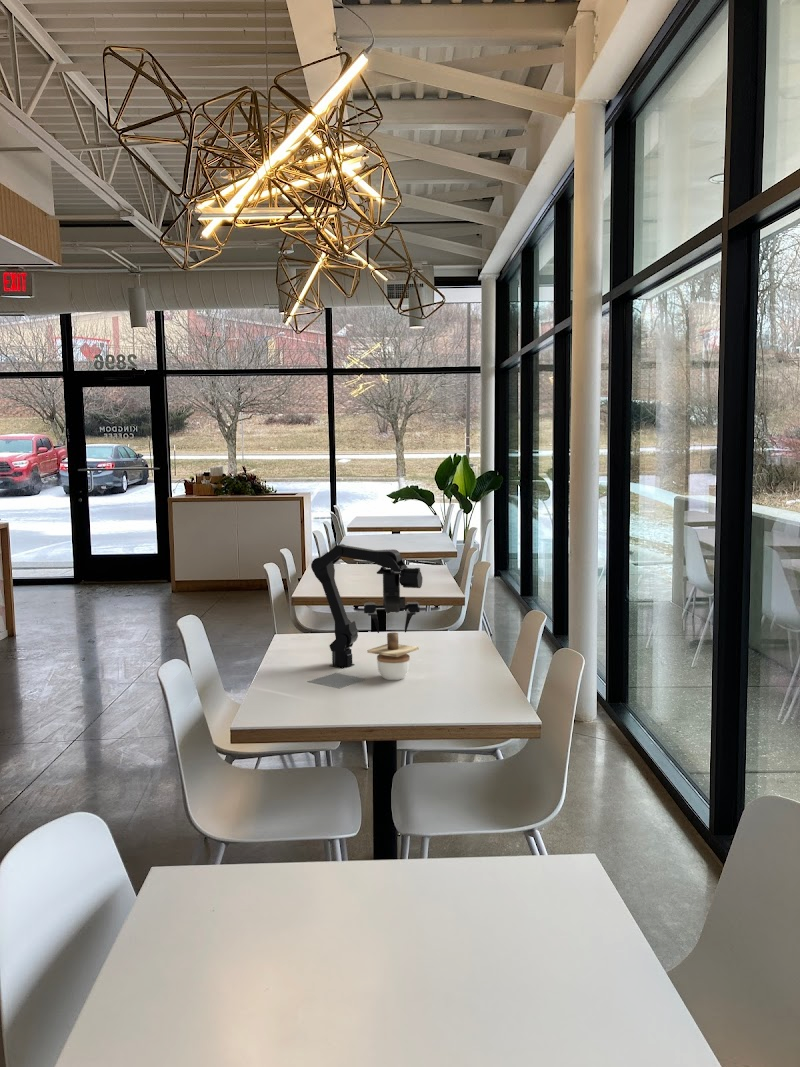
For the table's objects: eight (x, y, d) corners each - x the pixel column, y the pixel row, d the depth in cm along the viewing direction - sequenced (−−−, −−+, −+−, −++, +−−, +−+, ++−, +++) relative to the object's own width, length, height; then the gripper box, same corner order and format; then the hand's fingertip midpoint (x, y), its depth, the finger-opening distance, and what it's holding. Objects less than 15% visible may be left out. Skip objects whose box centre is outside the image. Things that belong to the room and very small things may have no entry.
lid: (367, 652, 290) (366, 635, 290) (389, 645, 300) (389, 628, 299) (396, 657, 283) (396, 639, 282) (418, 649, 292) (418, 632, 292)
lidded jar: (411, 675, 297) (411, 647, 296) (408, 683, 286) (408, 655, 286) (379, 674, 298) (379, 647, 297) (375, 683, 288) (374, 654, 287)
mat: (307, 682, 289) (307, 681, 288) (335, 673, 300) (335, 672, 300) (339, 689, 280) (339, 688, 280) (367, 680, 291) (367, 678, 291)
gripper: (363, 591, 293) (364, 638, 294) (420, 590, 294) (420, 636, 295) (363, 586, 304) (364, 631, 306) (418, 585, 305) (418, 630, 306)
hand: (391, 632), depth 303 cm, fingers open, 9 cm apart
